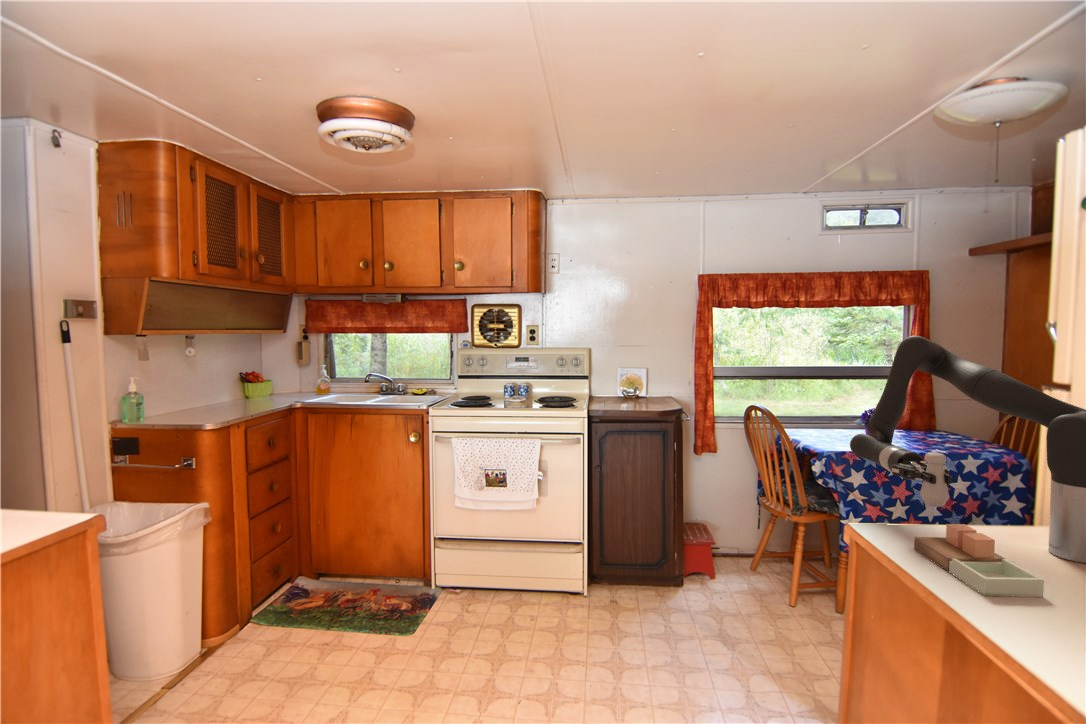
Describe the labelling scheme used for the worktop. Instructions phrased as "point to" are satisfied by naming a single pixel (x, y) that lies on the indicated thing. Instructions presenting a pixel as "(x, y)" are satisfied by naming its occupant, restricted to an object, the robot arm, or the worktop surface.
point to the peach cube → (978, 545)
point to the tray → (998, 578)
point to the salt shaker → (939, 491)
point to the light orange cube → (957, 533)
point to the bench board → (946, 551)
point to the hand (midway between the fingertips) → (942, 480)
